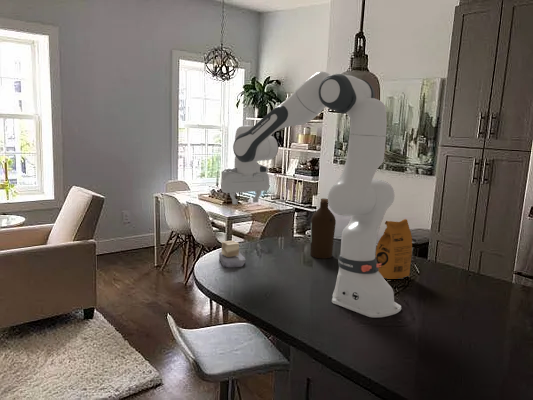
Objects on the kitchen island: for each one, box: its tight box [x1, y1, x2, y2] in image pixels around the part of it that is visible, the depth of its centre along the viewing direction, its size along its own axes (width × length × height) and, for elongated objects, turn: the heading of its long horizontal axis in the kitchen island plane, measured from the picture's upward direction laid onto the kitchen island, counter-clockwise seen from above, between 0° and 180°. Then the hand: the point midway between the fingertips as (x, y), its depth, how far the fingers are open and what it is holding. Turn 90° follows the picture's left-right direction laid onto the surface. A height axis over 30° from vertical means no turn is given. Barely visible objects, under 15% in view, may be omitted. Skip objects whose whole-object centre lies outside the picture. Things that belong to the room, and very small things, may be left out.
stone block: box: [218, 251, 246, 268], centre depth 176 cm, size 12×5×10 cm
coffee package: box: [375, 218, 413, 279], centre depth 164 cm, size 10×12×22 cm
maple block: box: [221, 239, 240, 257], centre depth 174 cm, size 5×5×5 cm
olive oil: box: [309, 198, 337, 260], centre depth 188 cm, size 11×11×25 cm
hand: (245, 203), depth 172 cm, fingers open, 8 cm apart
